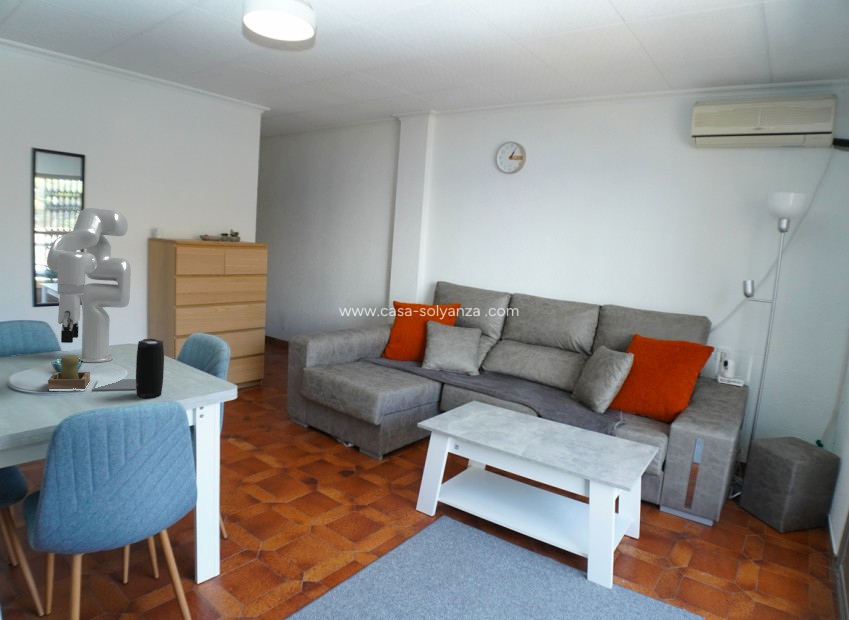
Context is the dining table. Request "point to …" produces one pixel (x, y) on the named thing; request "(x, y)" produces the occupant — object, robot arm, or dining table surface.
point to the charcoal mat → (119, 386)
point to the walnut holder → (69, 381)
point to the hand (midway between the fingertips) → (69, 340)
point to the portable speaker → (149, 368)
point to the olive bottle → (69, 367)
